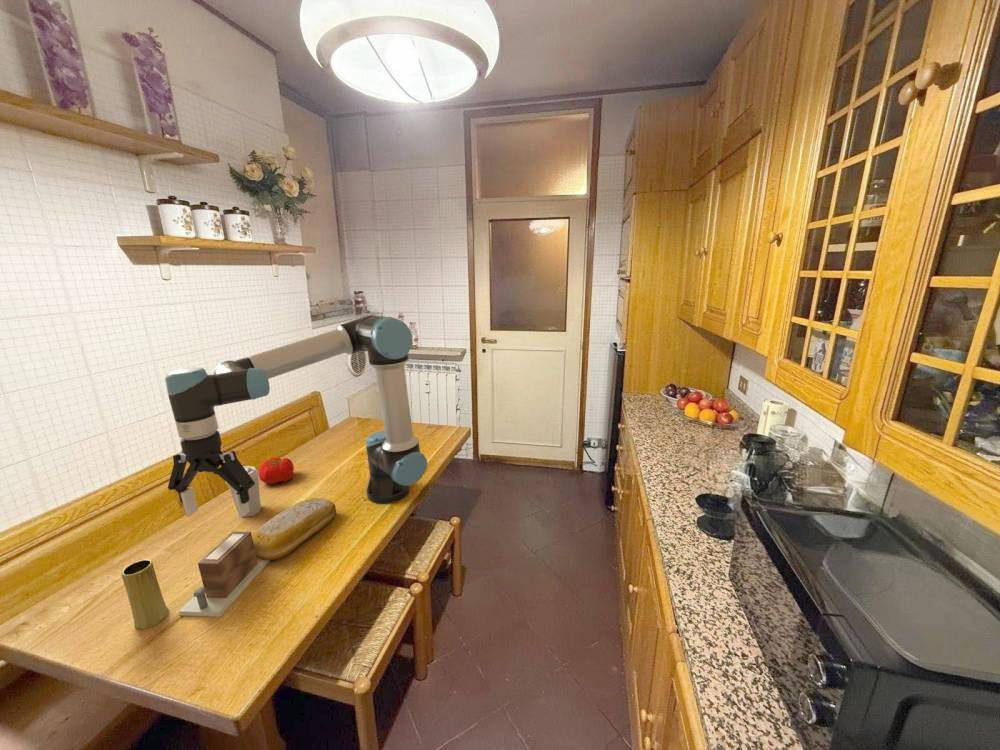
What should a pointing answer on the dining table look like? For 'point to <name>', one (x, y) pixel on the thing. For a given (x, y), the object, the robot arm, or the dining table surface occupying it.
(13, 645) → the dining table surface
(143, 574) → the vase
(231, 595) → the white board with pegs
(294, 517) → the bread
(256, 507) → the coffee cup
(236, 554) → the brown block
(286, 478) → the tomato
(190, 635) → the dining table surface
